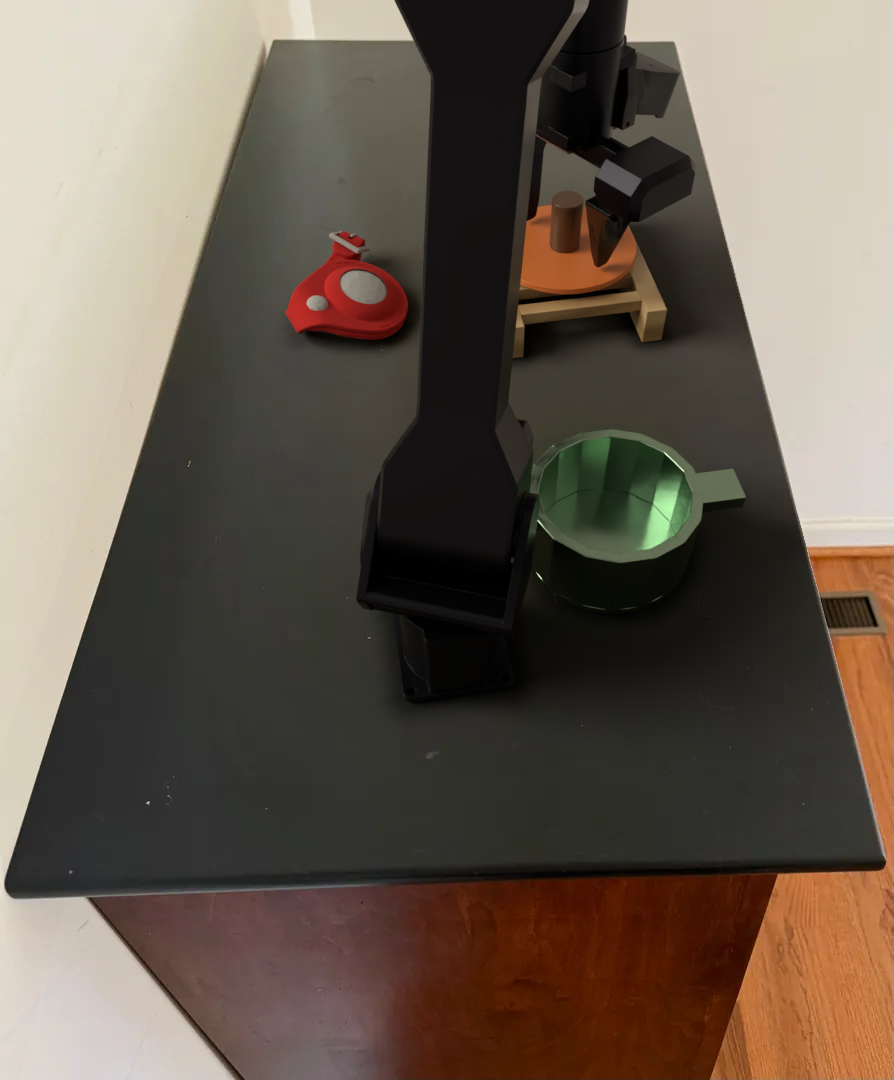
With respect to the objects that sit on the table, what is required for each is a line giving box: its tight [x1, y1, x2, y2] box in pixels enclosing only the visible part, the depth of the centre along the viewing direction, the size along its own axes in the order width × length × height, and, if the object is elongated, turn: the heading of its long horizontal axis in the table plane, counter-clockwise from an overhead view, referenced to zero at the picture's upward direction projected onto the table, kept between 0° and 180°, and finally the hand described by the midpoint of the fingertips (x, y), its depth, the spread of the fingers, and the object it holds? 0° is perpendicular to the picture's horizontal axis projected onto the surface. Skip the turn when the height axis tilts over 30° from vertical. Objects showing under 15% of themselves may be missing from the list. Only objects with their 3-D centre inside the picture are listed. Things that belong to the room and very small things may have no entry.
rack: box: [513, 205, 668, 359], centre depth 74 cm, size 16×13×3 cm
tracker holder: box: [285, 230, 409, 341], centre depth 74 cm, size 12×4×10 cm
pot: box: [530, 428, 747, 615], centre depth 57 cm, size 10×16×6 cm, turn 98°
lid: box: [520, 190, 637, 295], centre depth 71 cm, size 11×11×5 cm
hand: (564, 240), depth 72 cm, fingers open, 8 cm apart
